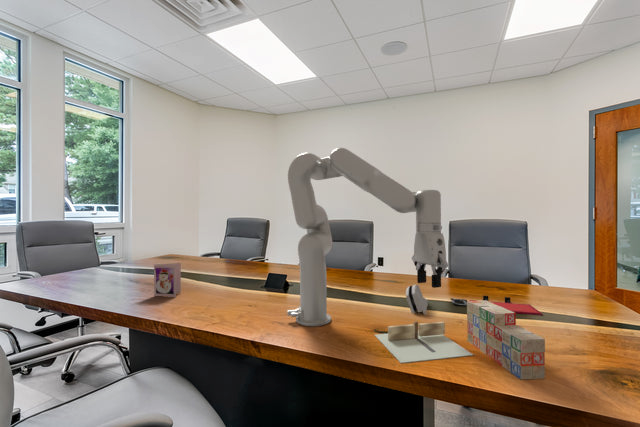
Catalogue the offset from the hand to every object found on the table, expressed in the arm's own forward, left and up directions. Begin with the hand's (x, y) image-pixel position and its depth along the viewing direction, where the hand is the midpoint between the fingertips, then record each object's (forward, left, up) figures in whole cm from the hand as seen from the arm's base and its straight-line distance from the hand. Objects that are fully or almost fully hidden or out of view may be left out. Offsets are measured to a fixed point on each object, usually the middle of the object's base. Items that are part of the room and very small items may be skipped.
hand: (428, 284), depth 94 cm
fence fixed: (-11, -3, -16) cm, 19 cm away
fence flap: (-1, -3, -15) cm, 15 cm away
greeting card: (-96, +67, -16) cm, 118 cm away
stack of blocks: (+10, -18, -16) cm, 26 cm away
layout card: (-7, -7, -16) cm, 19 cm away
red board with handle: (+41, +20, -16) cm, 48 cm away
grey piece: (+10, +25, -16) cm, 31 cm away
